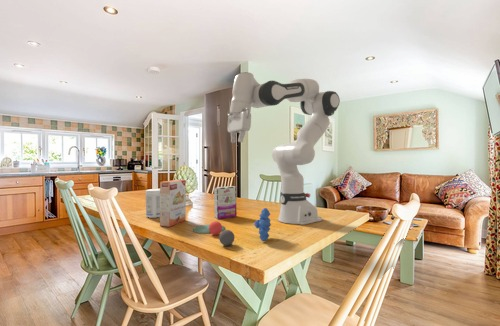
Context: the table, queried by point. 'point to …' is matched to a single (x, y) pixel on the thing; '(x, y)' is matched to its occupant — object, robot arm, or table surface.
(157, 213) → the supplement tub
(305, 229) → the table surface
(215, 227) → the ball
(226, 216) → the candy bar box
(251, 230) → the table surface
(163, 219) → the cracker box
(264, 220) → the grapes
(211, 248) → the table surface
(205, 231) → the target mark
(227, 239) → the ball
